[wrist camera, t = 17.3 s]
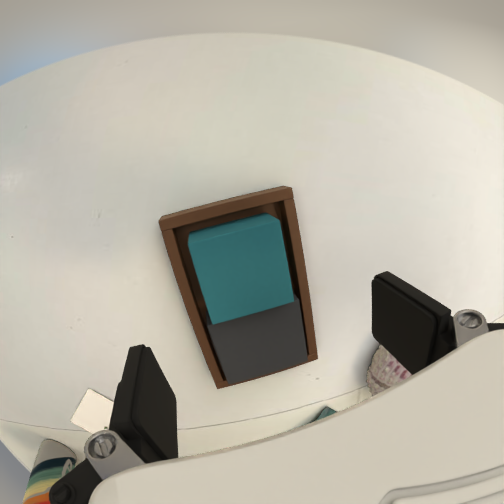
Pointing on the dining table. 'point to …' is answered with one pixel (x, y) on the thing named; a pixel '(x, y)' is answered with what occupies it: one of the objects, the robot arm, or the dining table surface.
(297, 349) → the charcoal pad
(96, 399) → the coaster
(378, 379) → the sea urchin shell
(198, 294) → the frame
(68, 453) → the grey striped bottle
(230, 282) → the teal block
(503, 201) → the dining table surface
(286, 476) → the robot arm
